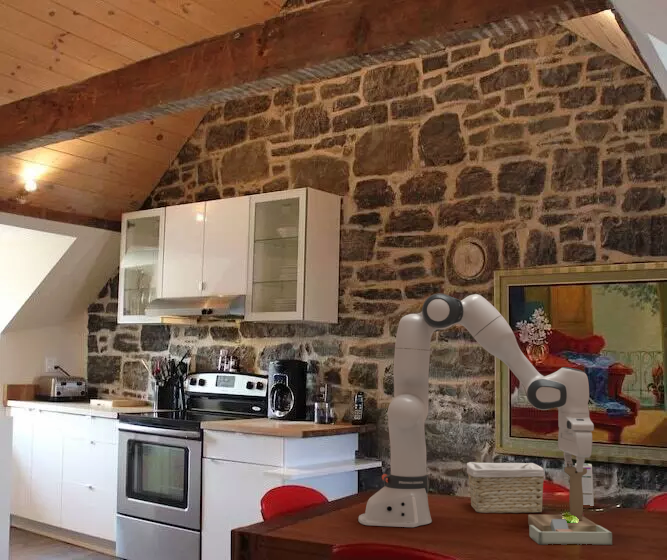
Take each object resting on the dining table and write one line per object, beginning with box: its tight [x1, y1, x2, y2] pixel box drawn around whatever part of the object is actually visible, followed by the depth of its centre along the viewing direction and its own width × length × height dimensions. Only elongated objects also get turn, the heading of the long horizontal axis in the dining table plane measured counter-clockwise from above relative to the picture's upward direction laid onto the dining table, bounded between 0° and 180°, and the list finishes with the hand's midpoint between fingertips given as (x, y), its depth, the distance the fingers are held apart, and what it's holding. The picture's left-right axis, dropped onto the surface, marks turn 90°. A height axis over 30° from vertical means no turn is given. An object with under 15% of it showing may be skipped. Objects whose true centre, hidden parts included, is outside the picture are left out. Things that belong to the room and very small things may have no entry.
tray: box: [528, 524, 613, 546], centre depth 220 cm, size 20×10×3 cm, turn 91°
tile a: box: [556, 529, 574, 532], centre depth 219 cm, size 4×4×2 cm
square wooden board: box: [527, 514, 598, 532], centre depth 234 cm, size 16×16×3 cm
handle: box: [563, 466, 587, 521], centre depth 234 cm, size 5×6×15 cm
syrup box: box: [574, 462, 595, 507], centre depth 271 cm, size 6×6×14 cm
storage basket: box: [466, 461, 545, 514], centre depth 267 cm, size 24×16×15 cm
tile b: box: [550, 519, 569, 532], centre depth 224 cm, size 4×4×2 cm
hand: (573, 469), depth 235 cm, fingers open, 8 cm apart
